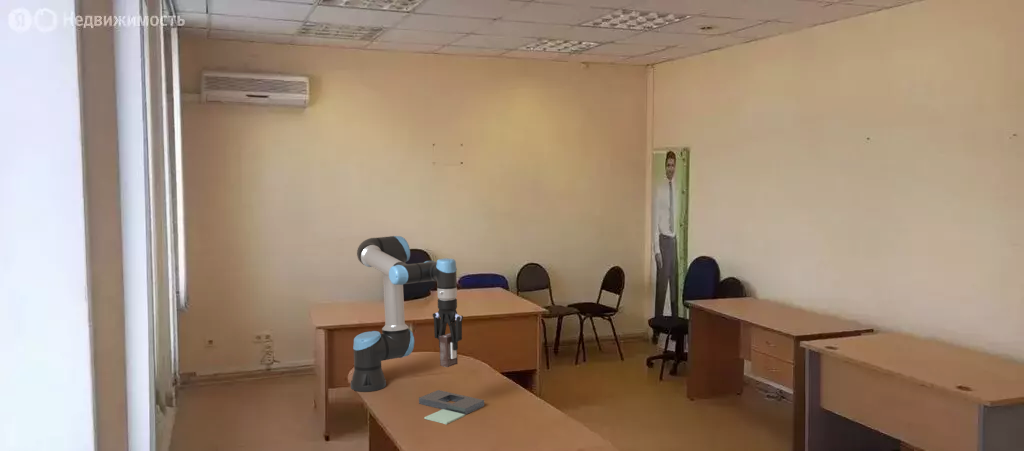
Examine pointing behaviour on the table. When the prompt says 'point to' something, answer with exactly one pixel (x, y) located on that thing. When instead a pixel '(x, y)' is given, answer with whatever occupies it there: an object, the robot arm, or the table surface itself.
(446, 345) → the box
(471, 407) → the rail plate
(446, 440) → the table surface
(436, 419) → the pad
